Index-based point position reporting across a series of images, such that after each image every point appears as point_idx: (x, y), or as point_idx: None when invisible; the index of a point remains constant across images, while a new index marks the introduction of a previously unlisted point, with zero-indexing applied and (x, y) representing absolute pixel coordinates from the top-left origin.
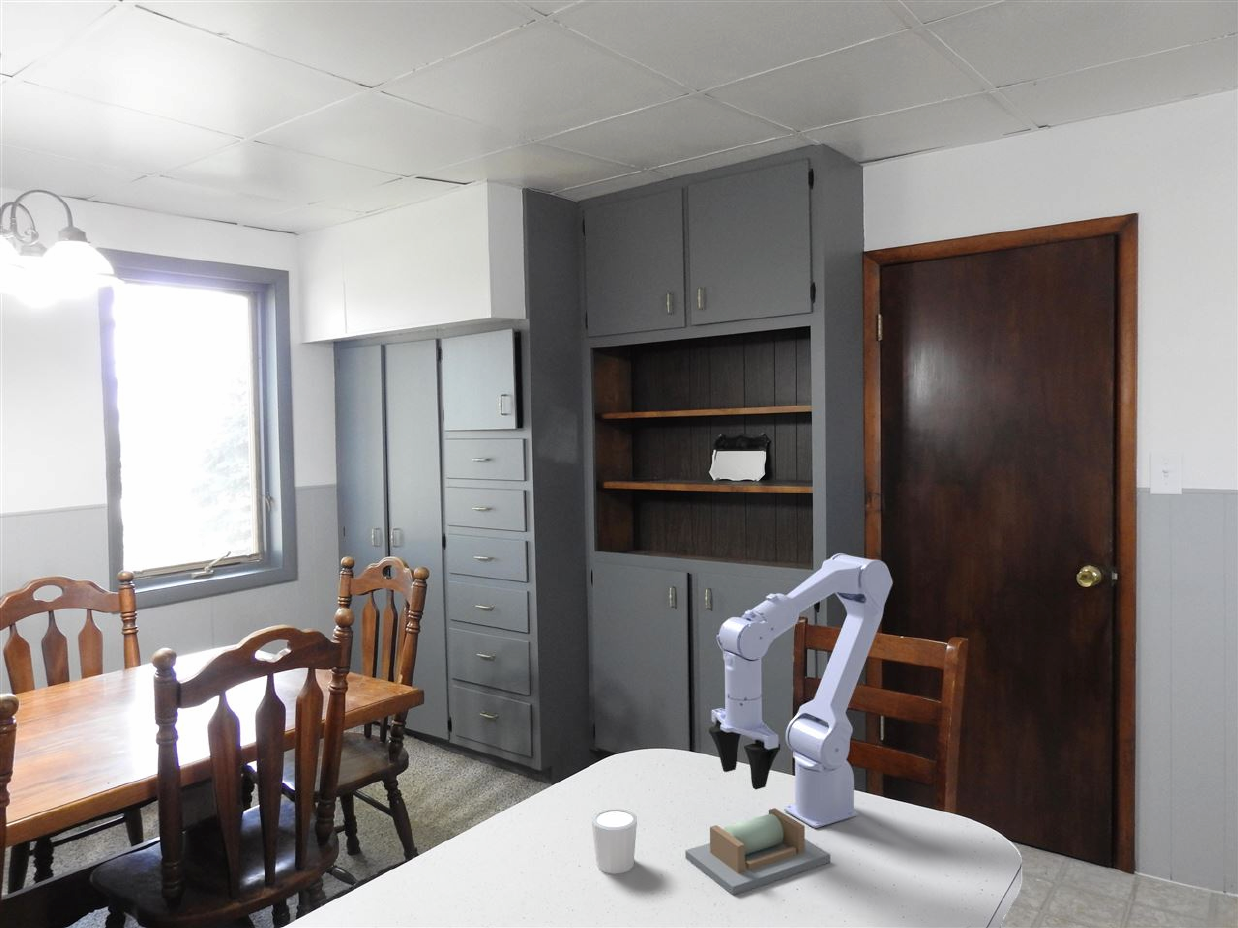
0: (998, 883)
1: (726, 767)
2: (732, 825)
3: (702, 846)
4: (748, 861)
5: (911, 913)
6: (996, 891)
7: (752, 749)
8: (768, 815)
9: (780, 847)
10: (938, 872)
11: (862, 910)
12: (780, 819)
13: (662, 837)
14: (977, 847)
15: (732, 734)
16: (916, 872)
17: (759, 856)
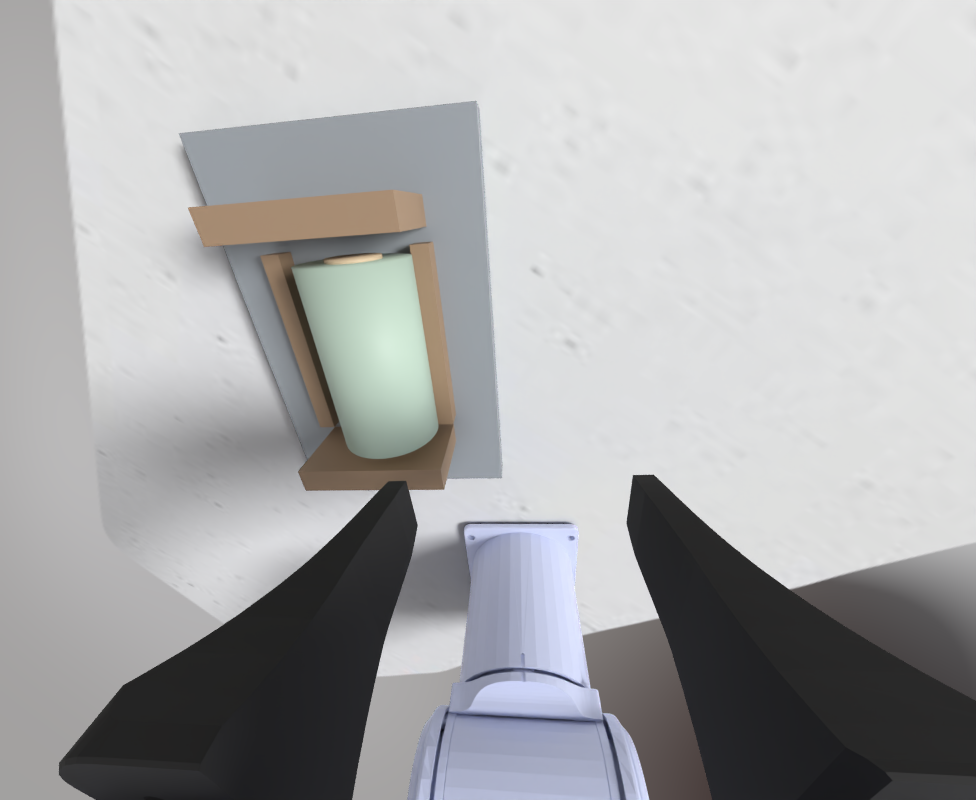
0: (206, 607)
1: (641, 497)
2: (345, 283)
3: (475, 193)
4: (277, 264)
5: (113, 469)
6: (183, 593)
7: (77, 761)
8: (379, 442)
9: None
10: (249, 574)
11: (121, 405)
12: (385, 465)
13: (668, 104)
14: None
15: (734, 769)
16: (254, 553)
17: None
